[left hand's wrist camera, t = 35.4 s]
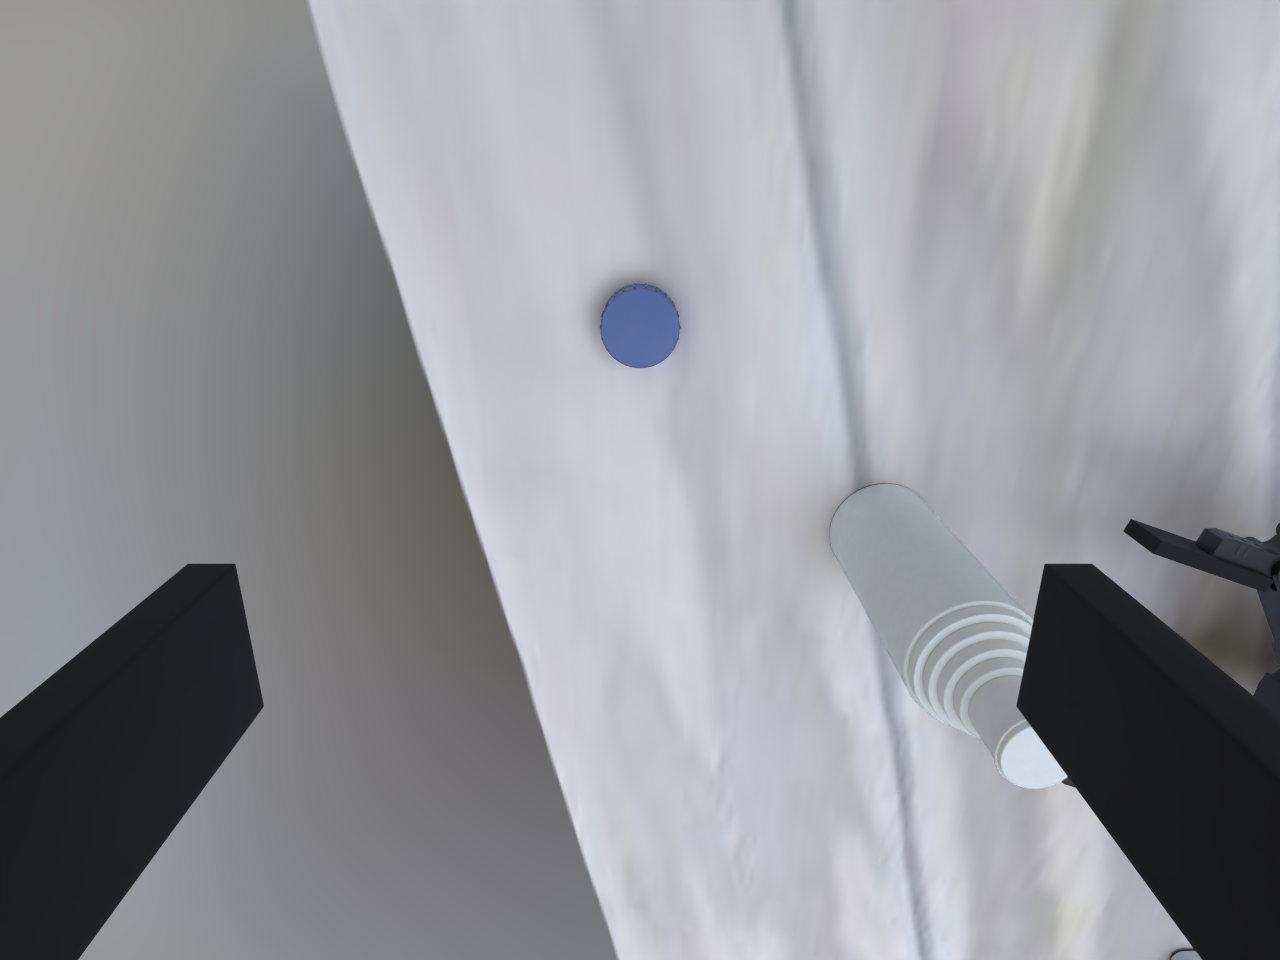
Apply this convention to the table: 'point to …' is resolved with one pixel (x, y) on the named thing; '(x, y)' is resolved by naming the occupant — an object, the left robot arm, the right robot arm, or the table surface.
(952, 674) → the bottle
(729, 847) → the table surface
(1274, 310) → the table surface
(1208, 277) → the table surface
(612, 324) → the cap
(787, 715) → the table surface
